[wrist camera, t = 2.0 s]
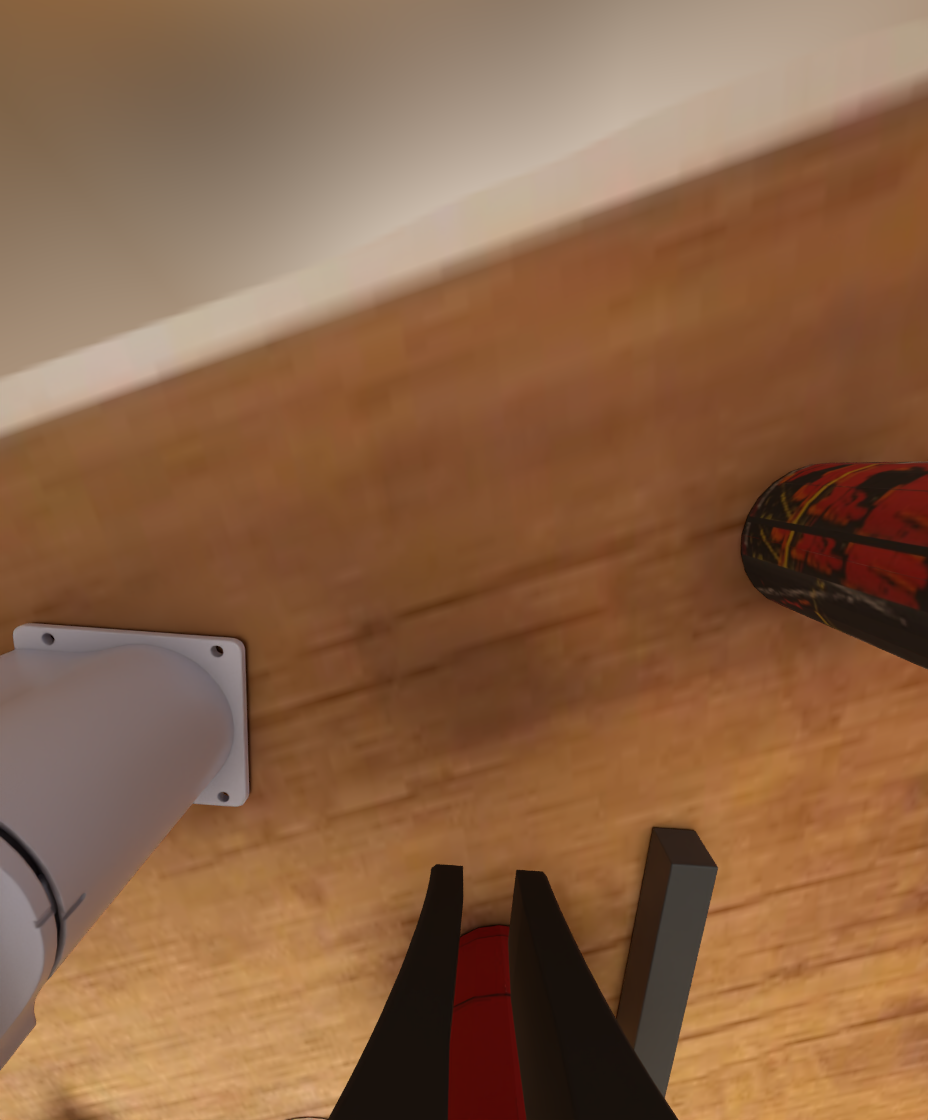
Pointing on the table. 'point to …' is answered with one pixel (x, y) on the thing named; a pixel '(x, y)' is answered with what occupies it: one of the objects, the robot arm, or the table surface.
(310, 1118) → the cylindrical container
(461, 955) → the plastic cup
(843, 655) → the table surface
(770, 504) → the deodorant
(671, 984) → the rail
